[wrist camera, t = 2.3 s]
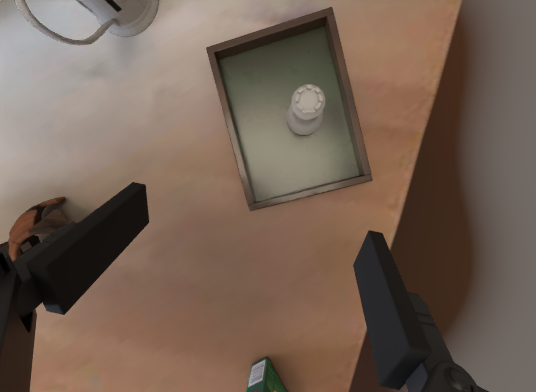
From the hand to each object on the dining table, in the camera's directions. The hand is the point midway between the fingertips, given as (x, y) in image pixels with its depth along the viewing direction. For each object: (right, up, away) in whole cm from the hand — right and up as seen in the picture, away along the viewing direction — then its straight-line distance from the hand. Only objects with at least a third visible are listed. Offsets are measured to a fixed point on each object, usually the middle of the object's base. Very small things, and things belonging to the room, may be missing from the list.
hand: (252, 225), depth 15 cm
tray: (+4, +12, +17) cm, 21 cm away
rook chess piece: (+5, +11, +17) cm, 21 cm away
